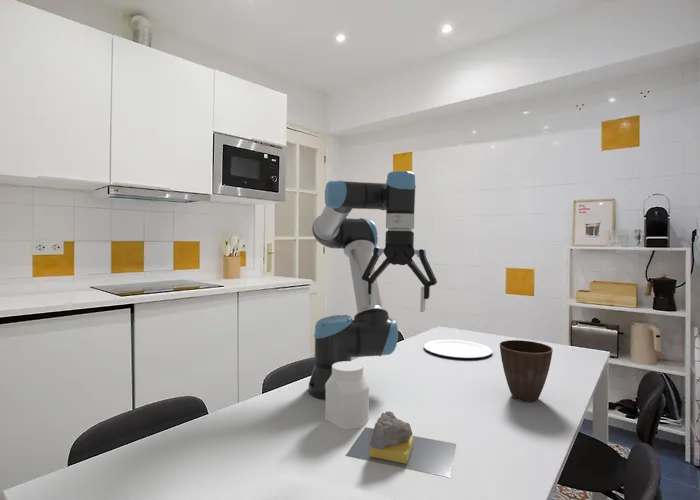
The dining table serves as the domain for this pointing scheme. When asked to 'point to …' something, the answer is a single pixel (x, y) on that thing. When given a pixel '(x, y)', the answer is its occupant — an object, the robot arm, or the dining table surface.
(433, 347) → the plate
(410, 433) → the stone
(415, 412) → the dining table surface
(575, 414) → the dining table surface
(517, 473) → the dining table surface
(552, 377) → the dining table surface
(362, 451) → the slate board
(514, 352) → the plant pot
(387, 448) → the yellow block
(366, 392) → the jar
